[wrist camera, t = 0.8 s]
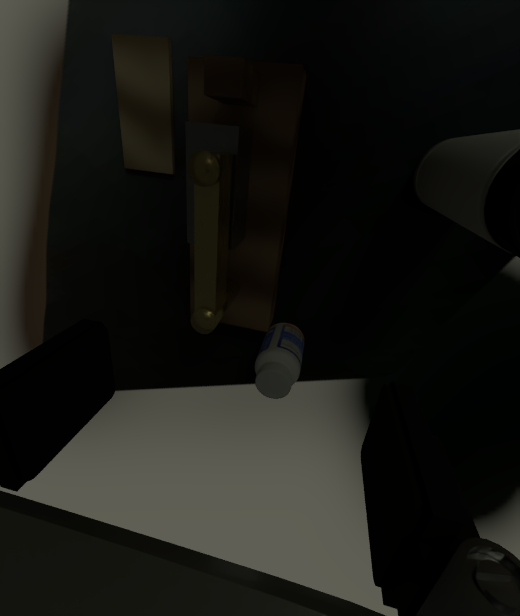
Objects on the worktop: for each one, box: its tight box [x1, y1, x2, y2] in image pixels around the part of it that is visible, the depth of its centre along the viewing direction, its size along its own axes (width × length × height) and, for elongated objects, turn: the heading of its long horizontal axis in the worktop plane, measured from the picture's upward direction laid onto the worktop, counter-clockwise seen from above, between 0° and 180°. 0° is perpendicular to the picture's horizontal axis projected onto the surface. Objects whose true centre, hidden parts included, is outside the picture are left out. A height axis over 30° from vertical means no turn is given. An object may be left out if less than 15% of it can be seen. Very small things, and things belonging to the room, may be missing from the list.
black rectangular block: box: [185, 121, 253, 250], centre depth 29 cm, size 10×4×4 cm, turn 174°
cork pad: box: [111, 34, 175, 174], centre depth 32 cm, size 12×6×1 cm, turn 174°
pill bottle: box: [255, 323, 304, 399], centre depth 38 cm, size 5×5×10 cm
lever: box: [187, 150, 240, 334], centre depth 29 cm, size 15×2×9 cm, turn 174°
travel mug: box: [413, 130, 520, 258], centre depth 21 cm, size 6×7×20 cm
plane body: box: [188, 55, 307, 332], centre depth 31 cm, size 26×10×9 cm, turn 174°
